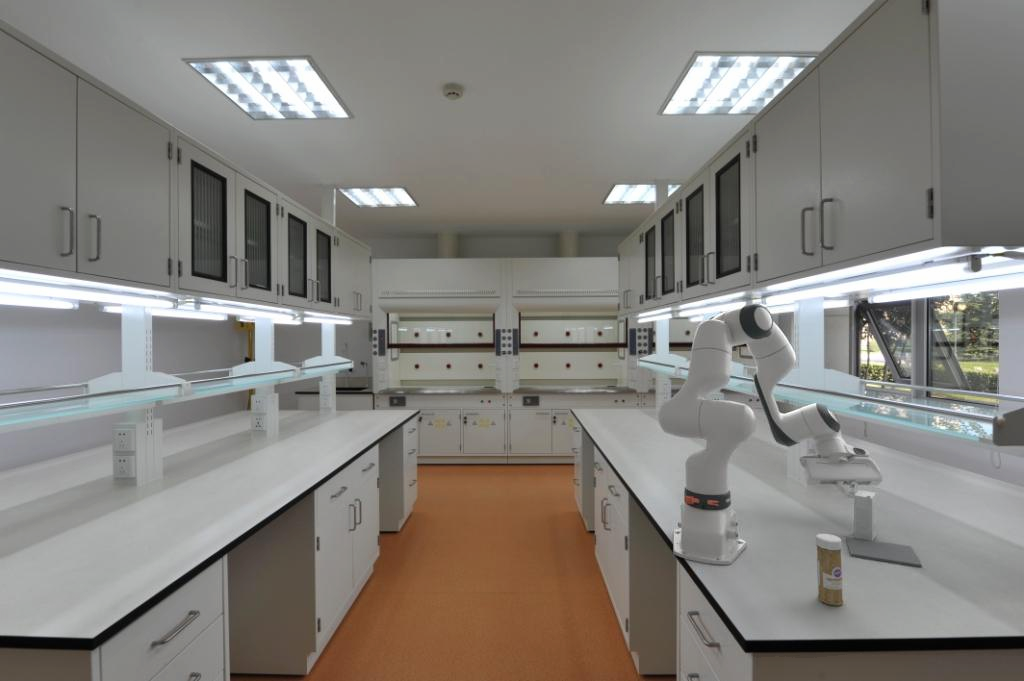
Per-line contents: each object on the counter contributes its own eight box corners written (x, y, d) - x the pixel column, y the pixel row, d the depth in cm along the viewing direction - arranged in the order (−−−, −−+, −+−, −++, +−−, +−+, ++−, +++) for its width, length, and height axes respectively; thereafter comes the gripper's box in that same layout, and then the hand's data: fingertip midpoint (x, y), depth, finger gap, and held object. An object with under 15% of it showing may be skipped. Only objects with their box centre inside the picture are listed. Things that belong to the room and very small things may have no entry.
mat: (921, 567, 116) (921, 564, 116) (850, 556, 123) (850, 553, 123) (910, 548, 126) (910, 546, 126) (845, 538, 133) (845, 536, 133)
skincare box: (858, 532, 137) (857, 489, 138) (878, 536, 134) (876, 492, 134) (853, 538, 133) (852, 494, 133) (873, 543, 130) (872, 497, 130)
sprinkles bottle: (834, 608, 99) (832, 542, 99) (812, 598, 103) (810, 535, 103) (848, 603, 101) (846, 538, 101) (826, 593, 105) (824, 531, 105)
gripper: (800, 449, 150) (815, 490, 140) (873, 450, 146) (894, 492, 136) (795, 460, 154) (809, 501, 144) (866, 461, 151) (885, 503, 141)
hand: (851, 497), depth 140 cm, fingers closed
